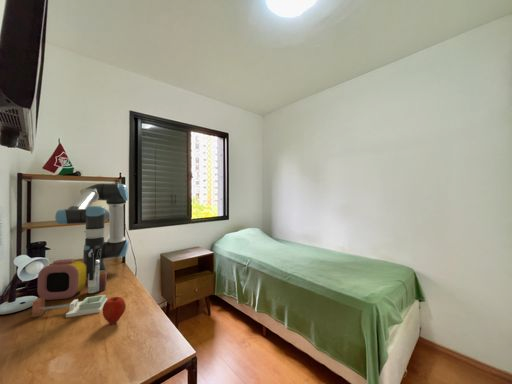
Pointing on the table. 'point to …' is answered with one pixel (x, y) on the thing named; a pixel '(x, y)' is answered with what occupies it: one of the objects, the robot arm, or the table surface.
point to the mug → (100, 280)
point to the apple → (114, 309)
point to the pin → (43, 307)
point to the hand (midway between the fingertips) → (93, 284)
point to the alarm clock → (62, 279)
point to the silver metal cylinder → (96, 287)
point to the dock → (86, 306)
